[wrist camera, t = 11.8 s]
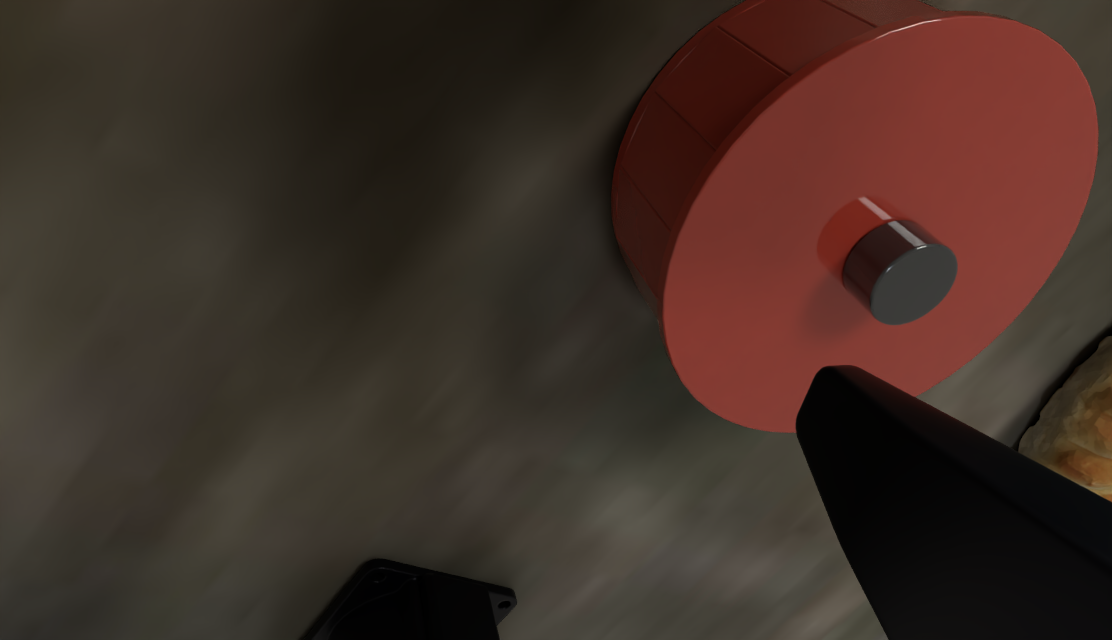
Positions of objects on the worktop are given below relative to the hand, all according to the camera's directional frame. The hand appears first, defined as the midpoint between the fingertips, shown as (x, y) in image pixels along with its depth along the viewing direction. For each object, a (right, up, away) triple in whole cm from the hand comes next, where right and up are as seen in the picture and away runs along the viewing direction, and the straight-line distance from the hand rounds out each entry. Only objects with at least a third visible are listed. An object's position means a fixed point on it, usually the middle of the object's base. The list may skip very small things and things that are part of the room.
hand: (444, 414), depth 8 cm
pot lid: (+9, +3, +11) cm, 14 cm away
